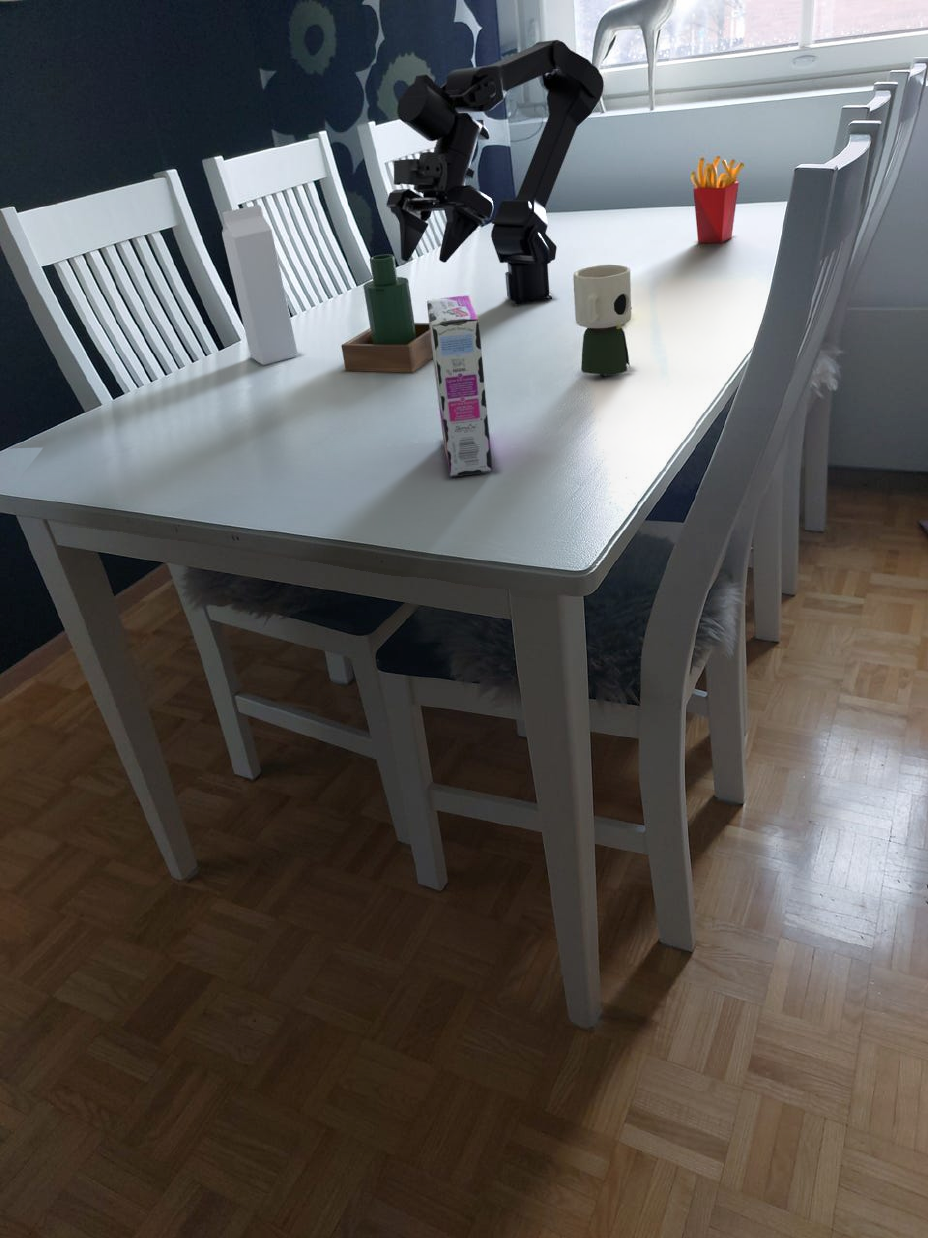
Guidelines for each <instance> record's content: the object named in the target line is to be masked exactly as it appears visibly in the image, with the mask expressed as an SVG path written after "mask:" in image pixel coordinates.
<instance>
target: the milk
mask: <svg viewBox="0 0 928 1238" xmlns="http://www.w3.org/2000/svg"><path fill="white" fill-rule="evenodd" d="M222 219H223V223H224V225H223V228H222V230H221V235H222V240H223V243H224V244H223V245H224V248H225V253H226V256H227V261H228V265H229V269H230V274H231V278H232V282H233V286H234V290H235V291H234V292H235V295H236V300H237V304H238V309H239V313H240V316H241V321H242V325H243V329H244V333H245V334H244V335H245V337H246V341H247V346H248V350H249V354H250V358H252V359H253V360H254V361H256V362H258V363H259V364H261V365H262V366H265V365H269V364H273V363H277V362H280V361H285V360H288V359H290V358H291V359H293V358H296V357H299V352H298V348H297V347H298V346H297V343H296V337H295V332H294V329H293V328H294V327H293V324H292V319H291V315H290V310H289V305H288V299H287V294H286V290H285V285H284V280H283V276H282V271H281V267H280V261H279V257H278V251H277V247H276V243H275V238H274V237H275V236H274V233H273V229H272V227H271V225H270V224H269V222H268V221H267V219H266V217H264V213H263V208H262V205H260V204H256V205H252V206H247V207H241V208H236V209H232V210H226V211H223V212H222Z"/></svg>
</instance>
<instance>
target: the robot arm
mask: <svg viewBox="0 0 928 1238" xmlns="http://www.w3.org/2000/svg"><path fill="white" fill-rule="evenodd" d="M537 78H539V80H540V81H539V82H540V86H541V87H542V88H543V89H544V90H545V91H546V92H547V94H546V103H547V110H548V117H547V120H546V122H545V125H544V127H543V129H542V133H541V136H540V137H539V139H538V143H537V146H536V148H535V150H534V152H533V155H532V158H531V159H530V163H529V165H528V168H527V170H526V173H525V175H524V178H523V181H522V183H521V185H520V188H519V190H518V193H517V195H516V197H515V198H513V199H512V200H507V199H506V200H501V202H500V203H499V205H498V208H497V212H496V215H495V217H494V218H493V220H492V221H491V219H492V215H493V211H494V204H493V203H494V202H493V200H492V198H491V197H490V196H488V195H487V194H485V193H484V192H482V191H480V190H479V189H478V188H476V187H474V186H472V185H471V184H466V181H467V180H469V179H470V180H471V179H474V174H475V170H473V169H472V168H470V167H471V164H472V160H473V157H474V154H475V149H476V147H477V143H478V141H487V140H490V137H491V135H490V132H489V130H488V129H487V127H486V124H485V120H484V119H474V118H473V117H472V116H471V115H470V114H473V113H475V114H476V113H487V112H491V110H493V109H494V108H496V107H497V106H498V105H499V104H500V103H502V102H503V101H504V99H505V97H506V95H507V93H509V92H510V91H512V90H514V89H516V88H518V87H519V86H523V85H524V84H526V83H529V82H531V81H533V80H535V79H537ZM604 83H605V82H604V78H603V75H602V74H601V72H600V71H599V69H598V68H597V66H595V65H594V64H593V63H592V62H591V61H590V60H589V59H588V58H586V57H584V56H582V55H581V54H579V53H577V52H575V51H573V50H572V49H570V48H569V46H568V45H567V44H566V43H565V42H564V41H562V40H559V39H552V40H544V41H543V40H542V41H537V42H536V43H535V44H533V45H532V46H530V47H528V48H525V49H523V50H521V51H519V52H517V53H514V54H512V55H509V56H508V57H505V58H503V59H501V60H499V61H496V62H494V63H492V64H489V65H484V66H475V67H468V68H459V69H453V70H451V72H449V73H448V74H447V76H446V82H445V83H444V84H442V85H441V86H440V85H438V84H437V83H435V81H434V80H433V79H432V77H430V76H429V75H428V74H417V75H415V78H414V82H413V83H412V84H410V85H409V86H408V87H407V88H406V90H405V91H404V92H403V94H402V96H401V97H400V98H399V99H398V101H397V102H398V103H397V109H396V111H397V117H398V119H399V120H400V121H401V122H403V123H404V124H405V125H407V126H408V127H409V128H410V129H412V130H413V131H415V132H416V133H417V134H419V135H420V136H421V137H423V139H426V140H427V141H429V142H435V141H436V143H435V146H434V150H433V151H424V152H421V153H420V155H419V157H418V158H407V159H406V158H405V159H396V160H394V161H393V185H395V186H400V185H409V186H413V190H414V191H413V190H411V189H410V188H402V189H394V190H392V191H391V192H389V193H388V197H387V200H386V204H385V206H386V207H387V208H388V209H390V213H392V214H393V215H394V216H395V217H396V219H397V221H398V225H399V236H400V237H399V238H400V259H401V260H402V261H403V262H406V263H407V262H409V260H410V258H411V257H412V256H413V254H414V252H415V250H416V249H417V247H418V245H419V243H420V242H421V239H422V238H423V236H424V234H425V233H426V230H427V229H428V227H429V225H430V224H429V223H428V222H427V221H428V220H429V219H430V218H431V215H432V212H435V211H437V212H438V211H441V212H442V211H443V212H444V215H445V220H446V222H445V227H444V231H443V236H442V240H441V246H440V251H439V256H438V260H439V261H440V262H441V263H444V264H445V263H447V262H448V261H449V259H451V257H452V256H453V255H454V254H455V253H456V252H457V250H458V249H459V248H460V247H461V245H463V243H464V242H465V241H466V240H467V239H468V238H469V237H470V236H471V235H472V234H473V233H474V232H475V231H476V230H477V229H478V228H479V227H482V226H483V225H484V223H485V222H484V221H491V224H492V225H493V226H492V229H491V233H490V238H491V241H492V244H493V247H494V250H495V253H496V256H497V259H498V262H499V264H507V271H506V272H504V276H505V277H504V278H505V287H506V296H507V298H508V300H510V301H511V302H512V303H513V304H514V305H515V306H520V305H527V304H533V303H540V302H545V301H551V300H553V295H552V294H551V293H550V279H549V266H548V265H549V264H551V263H552V261H555V260H556V255H557V245H556V244H555V243H554V241H553V240H552V239H551V237H550V236H548V234H547V229H548V225H549V224H548V219H547V218H548V217H547V213H546V207H547V204H548V202H549V198H550V196H551V194H552V191H553V189H554V186H555V184H556V181H557V179H558V176H559V174H560V171H561V169H562V166H563V164H564V161H565V159H566V156H567V153H568V151H569V149H570V146H571V144H572V140H573V138H574V136H575V134H576V131H577V129H578V128H579V126H580V125H581V124H583V123H584V122H585V121H586V120H587V119H588V118H589V117H590V116H591V115H592V114H593V113H594V111H595V109H596V107H597V105H598V104H599V102H600V100H601V98H602V96H603V93H604V86H605V85H604ZM415 191H416V192H417V193H416V192H415ZM418 193H421V194H422V196H421V195H420V194H418Z"/></svg>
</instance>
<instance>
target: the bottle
mask: <svg viewBox="0 0 928 1238" xmlns="http://www.w3.org/2000/svg"><path fill="white" fill-rule="evenodd" d="M369 265H370V271H371V277H372V280H369V281H368V282H366V283H364V284H363V285H362V287H363V293H364V297H365V304H366V311H367V316H368V322H369V328H370V329H371V335H372V341H373V344H383V345H407V344H409V343H410V342H412V341H413V340H415V339H416V331H415V324H414V323H415V318H414V312H413V311H414V310H413V304H412V298H411V290H410V281H409V279H408V277H403V276H398V272H397V267H396V266H397V265H396V259H395V255H394V254H388V253H387V254H379V255H375V256H372V257H370V258H369Z"/></svg>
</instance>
